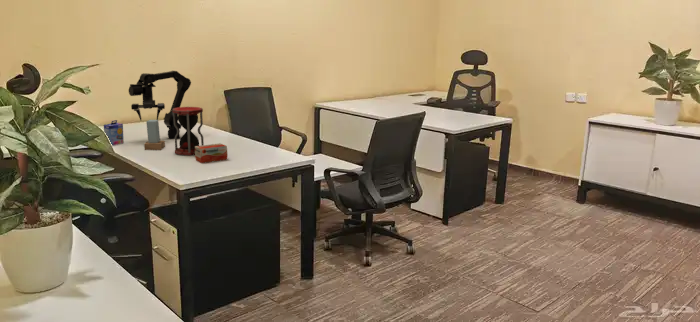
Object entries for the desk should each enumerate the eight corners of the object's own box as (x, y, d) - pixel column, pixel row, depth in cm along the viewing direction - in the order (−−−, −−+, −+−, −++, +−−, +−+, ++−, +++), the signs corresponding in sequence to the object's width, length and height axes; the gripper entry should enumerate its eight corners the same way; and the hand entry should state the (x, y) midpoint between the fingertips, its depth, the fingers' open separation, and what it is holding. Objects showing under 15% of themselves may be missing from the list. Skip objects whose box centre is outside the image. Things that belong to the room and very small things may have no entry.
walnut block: (149, 147, 322) (149, 140, 321) (165, 147, 323) (164, 140, 322) (144, 150, 314) (144, 143, 313) (160, 150, 314) (160, 144, 313)
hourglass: (174, 156, 300) (171, 111, 294) (175, 149, 315) (172, 106, 309) (204, 155, 304) (202, 110, 298) (204, 148, 319) (202, 106, 313)
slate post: (151, 141, 320) (149, 119, 317) (160, 141, 320) (158, 119, 317) (148, 142, 315) (146, 121, 312) (156, 142, 315) (155, 121, 312)
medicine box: (221, 156, 302) (220, 142, 300) (227, 159, 296) (227, 145, 294) (195, 160, 293) (194, 146, 291) (201, 163, 287) (200, 148, 285)
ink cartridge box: (110, 146, 320) (108, 121, 317) (104, 145, 323) (102, 120, 319) (124, 143, 329) (122, 119, 325) (118, 142, 331) (116, 118, 328)
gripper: (129, 96, 318) (131, 123, 322) (163, 96, 324) (165, 122, 328) (131, 94, 329) (133, 120, 332) (163, 93, 334) (165, 119, 338)
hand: (149, 120), depth 332 cm, fingers open, 9 cm apart
